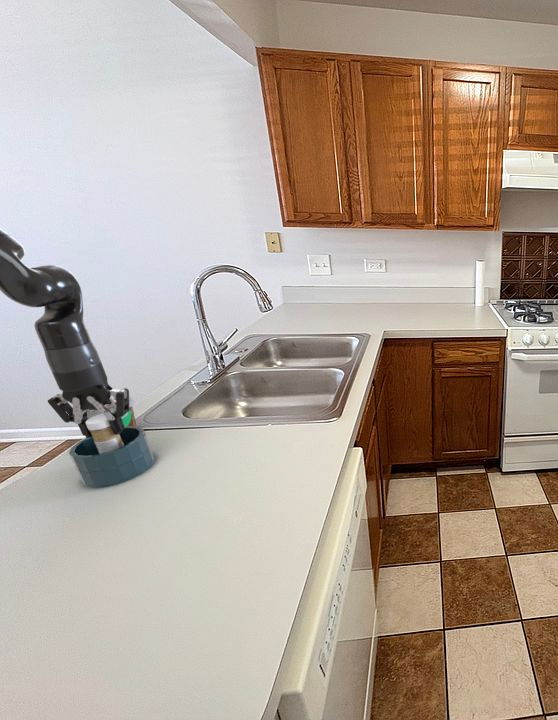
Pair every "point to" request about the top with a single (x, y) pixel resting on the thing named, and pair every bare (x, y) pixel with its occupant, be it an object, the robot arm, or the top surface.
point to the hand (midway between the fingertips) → (105, 434)
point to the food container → (127, 418)
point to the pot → (113, 459)
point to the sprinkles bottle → (103, 434)
